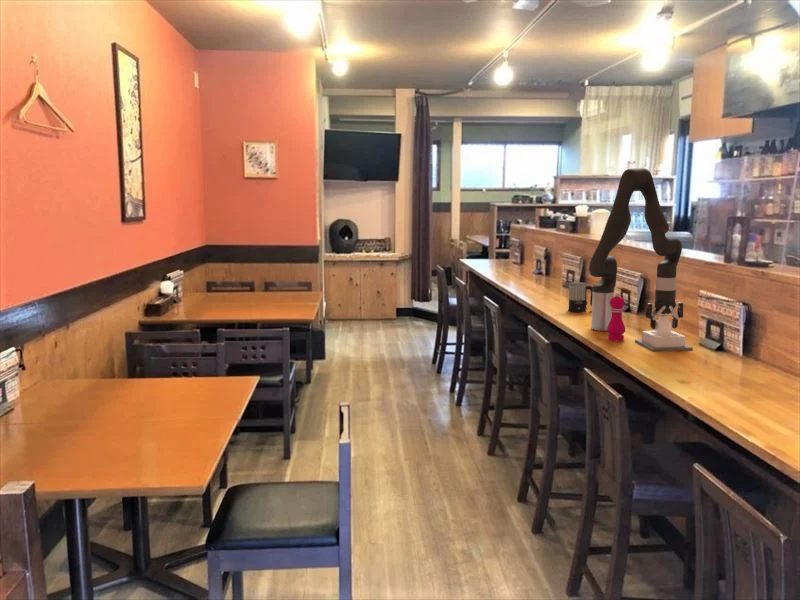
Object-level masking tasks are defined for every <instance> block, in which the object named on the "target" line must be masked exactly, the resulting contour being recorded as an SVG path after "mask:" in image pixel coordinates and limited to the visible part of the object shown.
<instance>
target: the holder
mask: <svg viewBox="0 0 800 600" xmlns="http://www.w3.org/2000/svg"><path fill="white" fill-rule="evenodd" d="M686 339H687V337H686V336H685V335H683V334H681V333H678V332H676V331H674V330H672V329H671V336H657V335H655V330H642V332H641V339H640V338H639V339H634V343H637V344H638V345H640V346H642V347H643V346H644V348H645V347H646V348H645V349H647V348H648V350H649V351H651V352H670V351H671V352H673V351H676V352H677V351H693V349H694V347H692V346H690V345H689V344H686Z"/></svg>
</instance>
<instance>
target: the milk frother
mask: <svg viewBox="0 0 800 600" xmlns="http://www.w3.org/2000/svg"><path fill="white" fill-rule="evenodd" d="M592 289H593V285H587V282H580V281H576V282H569V283H568V312H571V313H572V312H573V313H584V312H586V311H587V309H586V308H587V306H588V304H589V305H590V306H591V307H592ZM587 290H589V291H590V300H589V303H588V301H587V292H588V291H587Z"/></svg>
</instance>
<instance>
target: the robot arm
mask: <svg viewBox="0 0 800 600" xmlns="http://www.w3.org/2000/svg"><path fill="white" fill-rule="evenodd" d="M634 192H641V194H642V196H643V199H644V202H645V203H644V204H645V206H644V220H645V223H646V225H647V228H648V229H649V232H650V234H651V235H650V237H651V244H652V248H653V251H654V252H655V254H656V255H658V256H659V257H664V259H663V261H662V260H661V262H659V263H657V266H656V267H657V268H656V278H655V279H656V280H655V293H654V302H653V303H650V302H647V303H646V309H645V317H646V319H649V320H650V321H649V322H650V323H649V324H650V325H649V327H650V328H651V329H652V330H655V329H656V322H657V320H656V319H657V318H659V317H660V316H661V315H662V314H666V315H671V316H672V319H671V329H675V330H676V329H677V327H679V319H682V318H683V317H684V302H680V301H678V302H676V298H677V266H678V265H679V262H680V258H681V254H682V251H683V245H682V241H680V239H679V238H678V237H667V236H666V234H667V233H668V232H669V231H670V226H669V223H668V221H667V218H666V216H665V214H664V212H663V210H662V207H661V205H660V201H659V197H658V193H657V189H656V185H655V182H654V179H653V175H652V174H651V171H649V169H647V168H645V167H635V168H634V167H633V168H627V169H625V170H624V171H623V173H622V174H621V176H620V179H619V183H618V187H617V191H616V195H615V198H614V202H613V204H612V208H611V211H610V214H609V216H608V218H607V221H606V223H605V226H604V229H603V232H602V235H601V237H600V239H599V242H598V244H597V247H596V249H595V251H594V252H593V254H592V256H591V259H590V261H589V263H588V264H589V265H588V271H589V274H590V275H591V276H592V277H594V278H601V279H600V280H599V281H598V282H596V283H595V284H593V285H592V287H593V289H592V306H591V322H590V323H591V324H590V326H591V327H590V328H591V330H593V329H594V331H599V332H604V331H605V332H608V331H607V327H608V324H609V322H610V320H611V317H612V312H611V308H612V307H611V305H610V299H611V298H612V297H615V287H616V286H617V285H616V284H617V275H618V262H617V260H616V258H615V256H612V255H610V253H611V252H612V250H613V249H614V248H615V247H617V245H618V244H619V243H620V242H621V241H622V240H624V238H625V236H626V235H627V233H628V230H629V228H630V225H631V223H632V222H631V221H632V217H631V212H630V211H631V210H630V201H631V198H632V195H633V193H634ZM654 308H655V309H654ZM653 309H654V311H653ZM675 309H677V311H675Z"/></svg>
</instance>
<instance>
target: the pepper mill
mask: <svg viewBox="0 0 800 600" xmlns="http://www.w3.org/2000/svg"><path fill="white" fill-rule="evenodd" d="M610 305H611V307H612V308H611V312H612V317H611V320H610V322H609V324H608V327H607V331H606V332H608V335H607V338H608V339H609V340H608V341H611V340H612V341H611V342H623V341H624V338H625V336H624V334H625V332H626V325H625V323H624V320H623V312H624V307H625V305H626V301H625V299H624V298H623V297H622V296H621V295H620V293H619V292H616V293H614V297H612V298H611V299H610Z"/></svg>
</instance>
